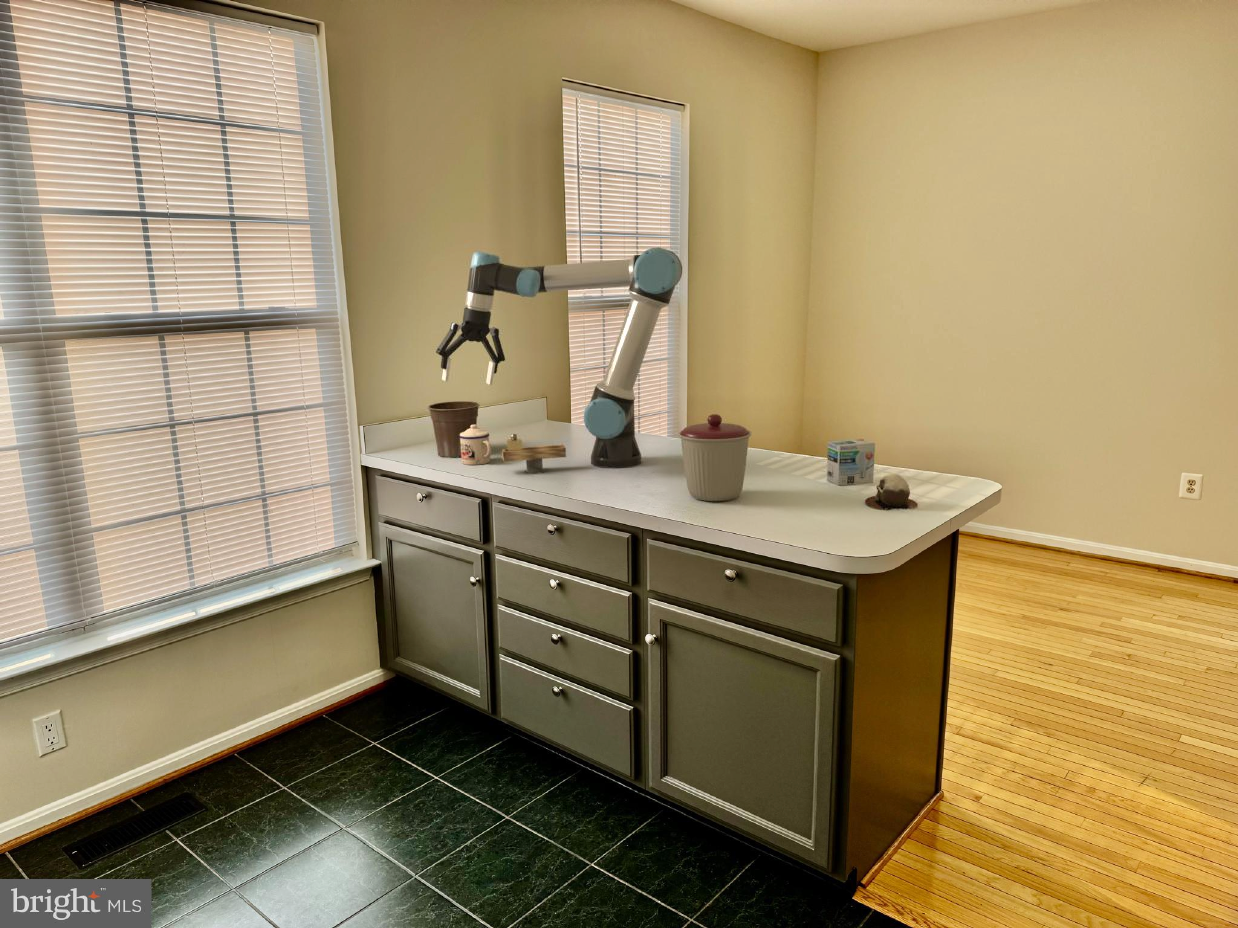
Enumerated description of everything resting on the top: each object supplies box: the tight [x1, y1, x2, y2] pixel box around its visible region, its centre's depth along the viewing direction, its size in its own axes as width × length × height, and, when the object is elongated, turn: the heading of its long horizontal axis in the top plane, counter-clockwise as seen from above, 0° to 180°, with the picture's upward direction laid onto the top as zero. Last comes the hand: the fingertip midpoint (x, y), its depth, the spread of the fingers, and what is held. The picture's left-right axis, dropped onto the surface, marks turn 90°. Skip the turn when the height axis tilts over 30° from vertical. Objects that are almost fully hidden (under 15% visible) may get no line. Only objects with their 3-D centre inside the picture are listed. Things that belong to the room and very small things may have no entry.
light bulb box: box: [826, 438, 876, 486], centre depth 233 cm, size 11×7×11 cm, turn 105°
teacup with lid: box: [459, 425, 492, 466], centre depth 269 cm, size 12×9×12 cm
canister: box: [677, 413, 752, 502], centre depth 220 cm, size 18×18×21 cm
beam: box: [501, 444, 567, 474], centre depth 256 cm, size 18×6×7 cm, turn 103°
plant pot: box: [427, 400, 480, 459], centre depth 283 cm, size 16×16×16 cm
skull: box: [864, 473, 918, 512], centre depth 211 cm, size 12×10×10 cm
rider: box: [506, 433, 523, 451], centre depth 254 cm, size 4×3×6 cm
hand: (467, 382), depth 253 cm, fingers open, 13 cm apart
